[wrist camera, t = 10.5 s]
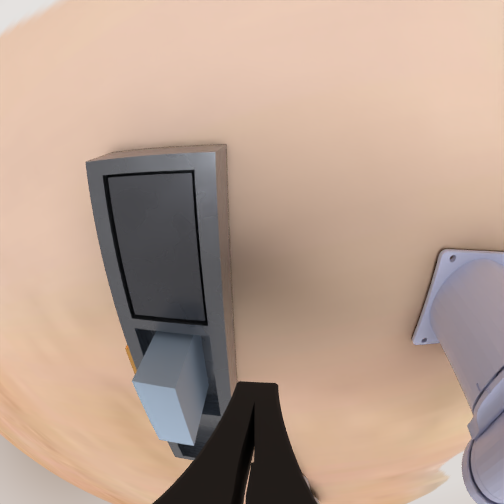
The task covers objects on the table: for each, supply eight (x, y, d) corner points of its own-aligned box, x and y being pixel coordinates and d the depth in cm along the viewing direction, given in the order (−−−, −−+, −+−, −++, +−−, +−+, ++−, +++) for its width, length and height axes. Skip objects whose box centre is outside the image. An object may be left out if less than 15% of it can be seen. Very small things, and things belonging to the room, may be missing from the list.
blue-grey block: (198, 320, 20) (175, 388, 15) (208, 385, 23) (194, 445, 18) (163, 317, 20) (132, 381, 15) (178, 381, 23) (159, 439, 18)
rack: (226, 144, 16) (215, 151, 13) (241, 443, 29) (238, 465, 26) (104, 153, 16) (76, 163, 14) (176, 435, 30) (170, 455, 27)
